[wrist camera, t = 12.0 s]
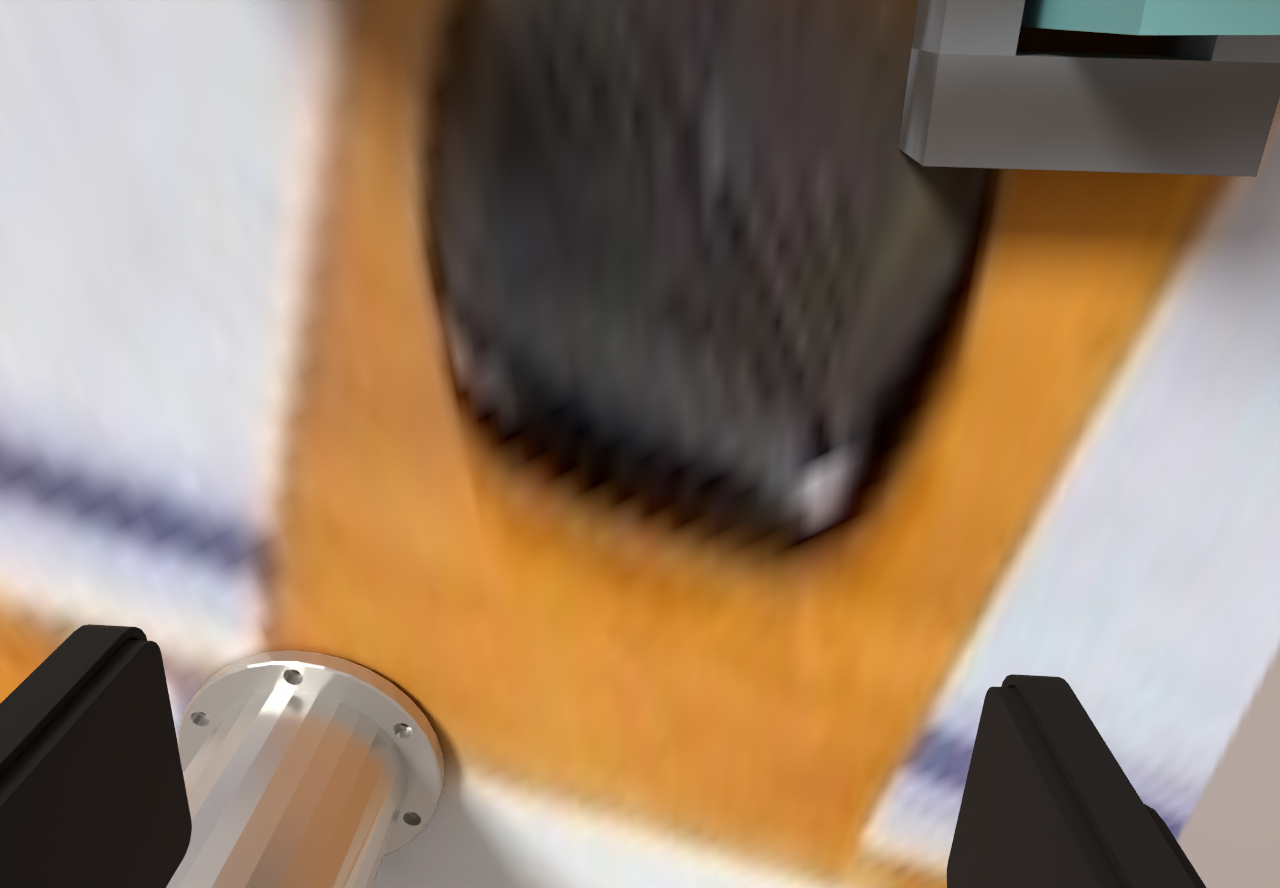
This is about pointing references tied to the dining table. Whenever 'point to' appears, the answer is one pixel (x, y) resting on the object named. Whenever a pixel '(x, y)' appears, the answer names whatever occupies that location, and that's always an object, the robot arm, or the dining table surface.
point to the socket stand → (1083, 99)
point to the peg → (1156, 16)
